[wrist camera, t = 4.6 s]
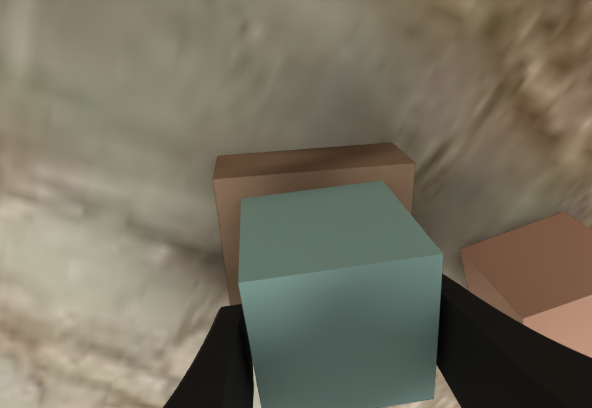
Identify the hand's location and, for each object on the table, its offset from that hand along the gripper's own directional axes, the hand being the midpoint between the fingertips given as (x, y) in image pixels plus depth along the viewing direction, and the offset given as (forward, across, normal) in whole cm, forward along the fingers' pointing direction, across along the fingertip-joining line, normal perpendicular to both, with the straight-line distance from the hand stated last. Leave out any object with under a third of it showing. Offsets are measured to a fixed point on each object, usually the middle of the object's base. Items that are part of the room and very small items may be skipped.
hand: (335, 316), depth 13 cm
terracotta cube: (+6, -10, +4) cm, 12 cm away
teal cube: (+3, 0, 0) cm, 3 cm away
